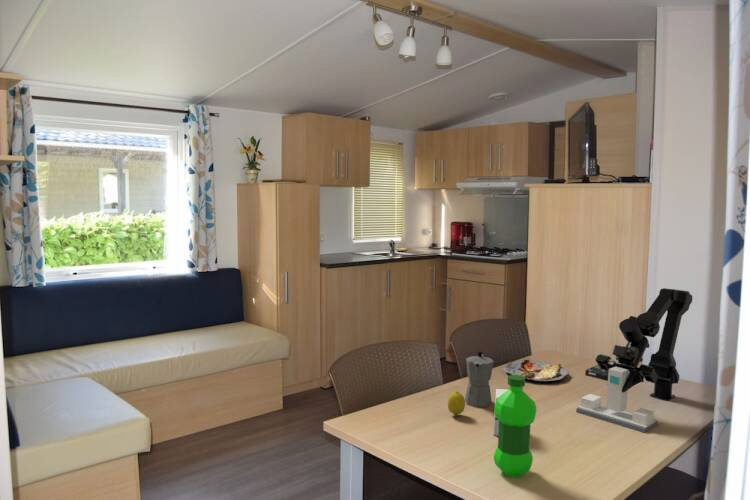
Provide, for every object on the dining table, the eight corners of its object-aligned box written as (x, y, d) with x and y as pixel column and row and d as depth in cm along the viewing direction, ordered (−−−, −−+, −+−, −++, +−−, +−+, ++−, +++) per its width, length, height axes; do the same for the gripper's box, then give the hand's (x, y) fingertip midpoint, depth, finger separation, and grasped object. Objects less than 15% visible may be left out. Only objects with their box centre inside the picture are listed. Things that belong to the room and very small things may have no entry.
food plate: (520, 361, 249) (520, 353, 248) (575, 372, 235) (575, 364, 235) (495, 377, 228) (496, 368, 228) (554, 390, 215) (554, 381, 214)
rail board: (590, 404, 198) (591, 392, 198) (657, 424, 182) (658, 410, 182) (576, 411, 191) (576, 398, 191) (644, 432, 175) (645, 418, 175)
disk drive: (610, 383, 224) (626, 374, 235) (610, 376, 224) (626, 368, 234) (584, 376, 232) (601, 369, 242) (585, 369, 231) (601, 362, 242)
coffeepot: (489, 411, 191) (492, 357, 189) (461, 407, 194) (463, 354, 192) (494, 396, 205) (496, 346, 204) (468, 392, 208) (469, 343, 206)
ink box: (493, 424, 179) (495, 388, 178) (510, 426, 178) (511, 389, 177) (493, 436, 171) (495, 397, 170) (511, 437, 170) (512, 399, 169)
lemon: (466, 414, 188) (467, 390, 187) (461, 420, 183) (462, 395, 182) (450, 411, 190) (451, 387, 189) (445, 417, 185) (445, 392, 184)
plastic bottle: (489, 477, 146) (493, 380, 143) (496, 460, 155) (499, 369, 153) (530, 485, 142) (535, 386, 140) (534, 466, 152) (539, 374, 150)
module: (613, 405, 190) (615, 366, 188) (626, 409, 186) (628, 369, 185) (606, 408, 187) (608, 369, 185) (619, 412, 183) (621, 372, 182)
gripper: (599, 330, 194) (580, 368, 188) (655, 342, 180) (636, 383, 174) (610, 349, 200) (591, 387, 194) (665, 362, 185) (647, 403, 179)
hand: (615, 389), depth 185 cm, fingers closed on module, 4 cm apart
